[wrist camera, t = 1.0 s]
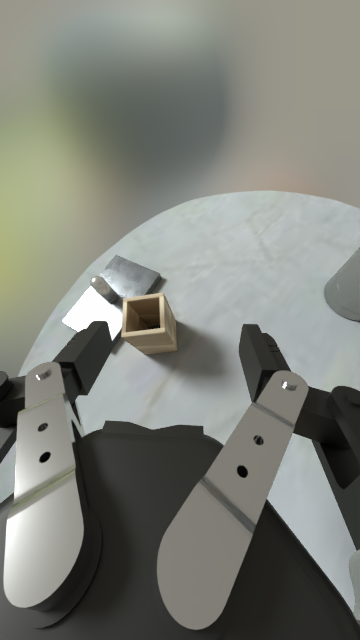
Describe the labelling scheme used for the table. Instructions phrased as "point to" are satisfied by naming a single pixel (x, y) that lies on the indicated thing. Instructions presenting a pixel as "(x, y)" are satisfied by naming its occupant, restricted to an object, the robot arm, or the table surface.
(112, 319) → the post plate
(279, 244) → the table surface
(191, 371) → the table surface
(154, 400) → the table surface
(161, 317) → the wooden sleeve
